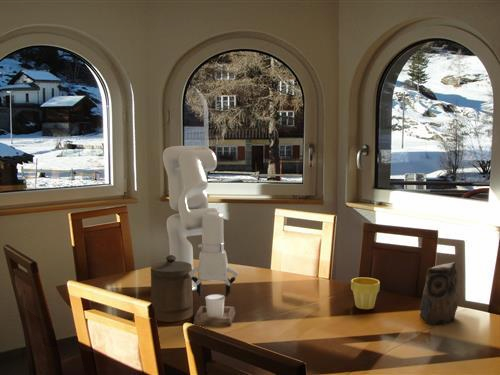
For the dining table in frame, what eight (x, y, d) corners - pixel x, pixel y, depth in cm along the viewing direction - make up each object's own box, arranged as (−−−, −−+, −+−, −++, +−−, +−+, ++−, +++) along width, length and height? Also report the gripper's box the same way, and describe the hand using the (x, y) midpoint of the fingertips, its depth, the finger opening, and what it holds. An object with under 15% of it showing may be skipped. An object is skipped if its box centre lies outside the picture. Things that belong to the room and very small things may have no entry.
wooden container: (199, 310, 206) (198, 252, 203) (182, 324, 192) (180, 261, 189) (163, 306, 210) (161, 249, 208) (144, 320, 197) (141, 259, 194)
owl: (457, 316, 195) (459, 260, 193) (459, 329, 183) (461, 269, 181) (419, 313, 199) (421, 258, 197) (419, 325, 187) (420, 267, 185)
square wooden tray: (193, 325, 190) (193, 318, 190) (199, 312, 203) (199, 305, 203) (231, 325, 189) (230, 318, 189) (235, 312, 202) (235, 306, 202)
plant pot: (382, 304, 209) (382, 278, 208) (376, 312, 200) (376, 286, 199) (354, 300, 214) (355, 275, 213) (347, 309, 204) (347, 283, 203)
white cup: (222, 320, 192) (221, 300, 191) (203, 318, 194) (202, 299, 193) (227, 313, 199) (226, 294, 198) (208, 312, 200) (208, 293, 199)
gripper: (186, 249, 190) (187, 298, 193) (236, 250, 189) (237, 299, 191) (190, 244, 198) (191, 291, 200) (238, 245, 196) (239, 292, 199)
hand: (213, 295), depth 196 cm, fingers open, 9 cm apart
